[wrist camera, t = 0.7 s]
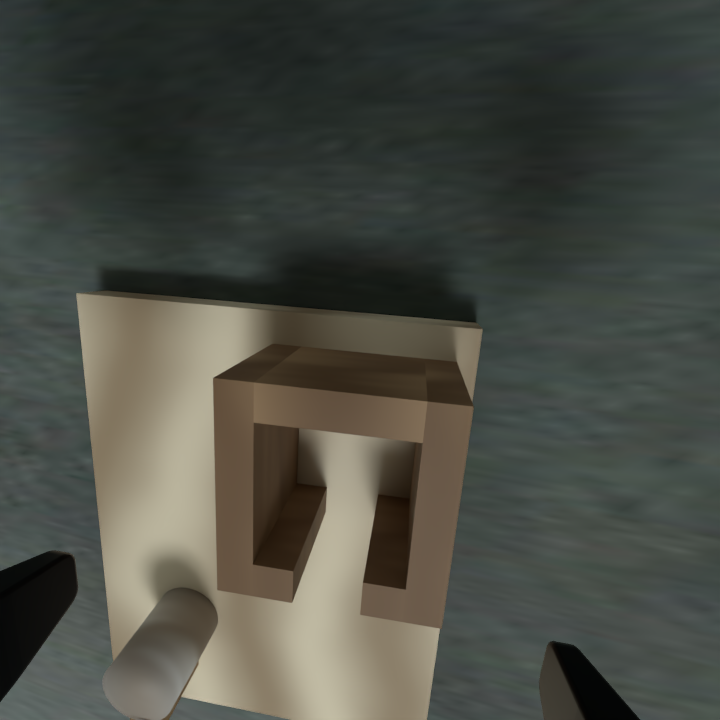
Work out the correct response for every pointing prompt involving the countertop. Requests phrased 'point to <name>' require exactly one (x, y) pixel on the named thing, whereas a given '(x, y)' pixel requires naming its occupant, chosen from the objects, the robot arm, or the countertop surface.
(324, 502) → the slotted channel bracket
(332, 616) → the plate
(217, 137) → the countertop surface
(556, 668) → the robot arm
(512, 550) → the countertop surface
